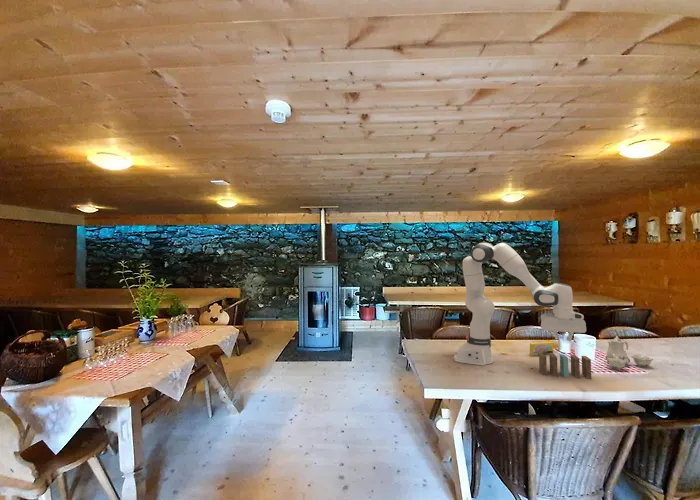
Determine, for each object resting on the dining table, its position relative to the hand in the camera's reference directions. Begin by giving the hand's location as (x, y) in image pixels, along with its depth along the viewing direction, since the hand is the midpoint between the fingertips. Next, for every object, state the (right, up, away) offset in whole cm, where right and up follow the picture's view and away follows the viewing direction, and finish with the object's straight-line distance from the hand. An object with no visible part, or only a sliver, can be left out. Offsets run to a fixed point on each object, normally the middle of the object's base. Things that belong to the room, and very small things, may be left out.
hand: (563, 339), depth 169 cm
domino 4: (+10, -18, -3) cm, 21 cm away
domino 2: (-4, -19, +1) cm, 19 cm away
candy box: (+8, -19, +33) cm, 39 cm away
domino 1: (-9, -19, +2) cm, 21 cm away
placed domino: (0, -19, 0) cm, 19 cm away
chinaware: (+42, -19, +12) cm, 47 cm away
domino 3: (+5, -18, -2) cm, 19 cm away
